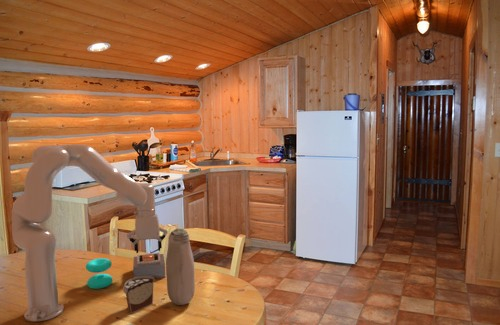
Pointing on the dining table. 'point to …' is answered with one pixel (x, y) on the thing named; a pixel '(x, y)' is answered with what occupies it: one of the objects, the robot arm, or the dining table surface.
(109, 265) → the donuts
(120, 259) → the dining table surface
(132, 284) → the brown piece
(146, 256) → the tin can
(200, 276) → the dining table surface
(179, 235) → the beige bottle
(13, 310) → the dining table surface
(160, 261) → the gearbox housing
